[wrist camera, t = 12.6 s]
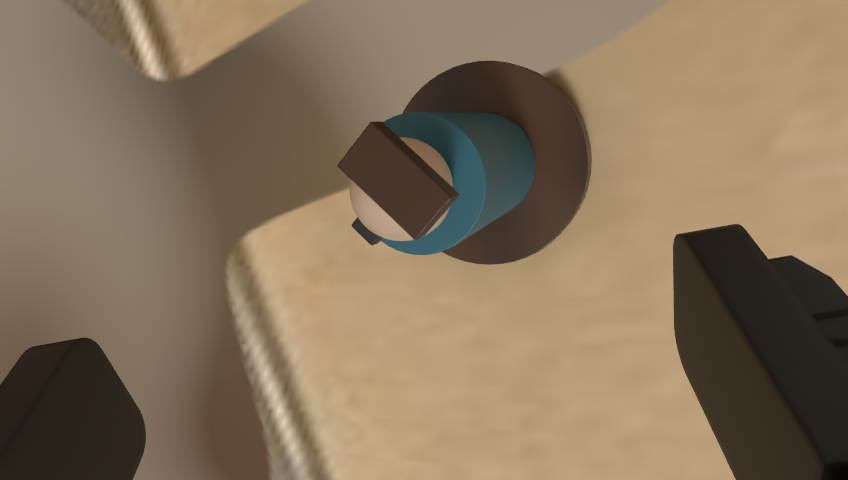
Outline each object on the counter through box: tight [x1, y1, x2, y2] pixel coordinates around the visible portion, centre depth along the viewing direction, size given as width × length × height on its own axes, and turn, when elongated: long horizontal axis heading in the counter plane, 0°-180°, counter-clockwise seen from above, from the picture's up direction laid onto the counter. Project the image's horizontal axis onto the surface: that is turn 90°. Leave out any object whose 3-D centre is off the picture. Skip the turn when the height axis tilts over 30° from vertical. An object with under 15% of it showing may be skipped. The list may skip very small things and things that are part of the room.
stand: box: [403, 61, 592, 265], centre depth 29 cm, size 9×9×2 cm
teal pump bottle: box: [338, 112, 535, 255], centre depth 23 cm, size 4×4×11 cm
